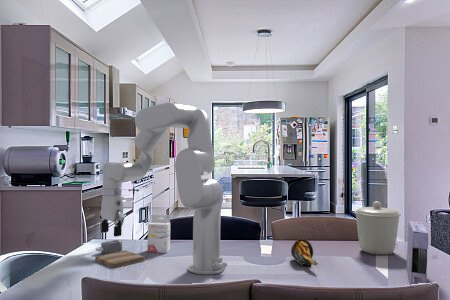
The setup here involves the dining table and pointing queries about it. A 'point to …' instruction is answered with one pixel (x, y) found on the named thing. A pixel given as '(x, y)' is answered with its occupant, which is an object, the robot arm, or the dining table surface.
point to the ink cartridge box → (159, 234)
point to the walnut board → (119, 259)
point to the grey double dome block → (110, 247)
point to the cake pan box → (417, 252)
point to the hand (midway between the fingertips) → (111, 234)
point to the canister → (377, 229)
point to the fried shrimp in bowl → (303, 252)
